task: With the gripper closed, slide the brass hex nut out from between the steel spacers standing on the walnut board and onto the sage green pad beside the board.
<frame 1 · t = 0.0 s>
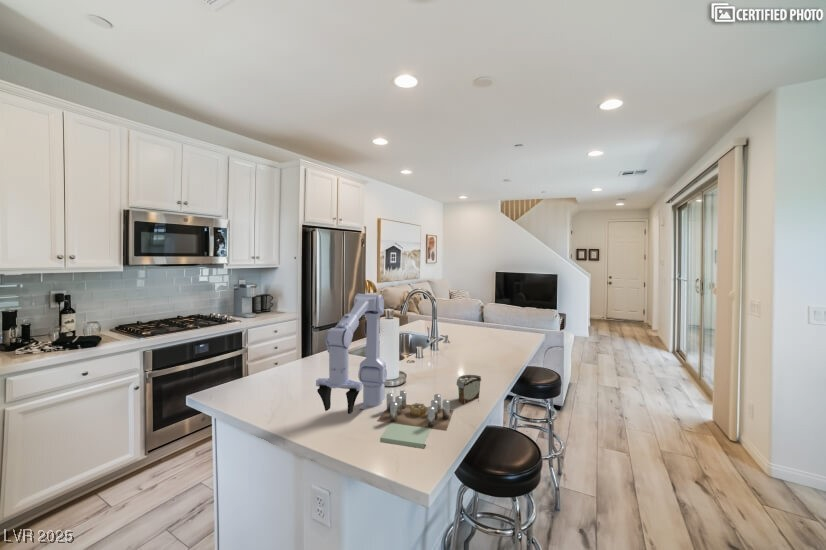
hand: (338, 411, 108), 10 cm above the countertop, tool pointing down, fingers open, 7 cm apart
nut: (417, 413, 126), point 1 cm above the countertop, touching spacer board
spacers: (416, 415, 124), resting on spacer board
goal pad: (406, 437, 112), on the countertop
food container: (465, 402, 140), on the countertop
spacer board: (416, 419, 124), on the countertop
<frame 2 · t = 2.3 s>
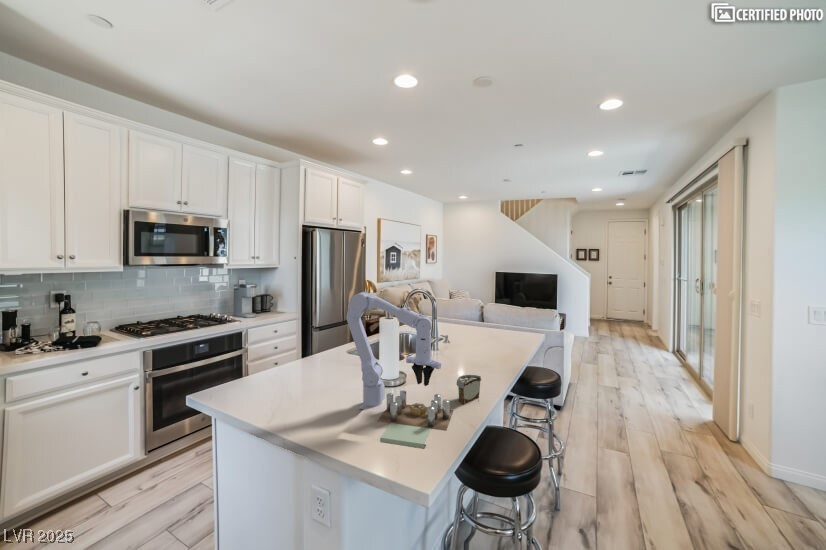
hand: (423, 384, 133), 9 cm above the countertop, tool pointing down, fingers closed
nothing on the countertop moved.
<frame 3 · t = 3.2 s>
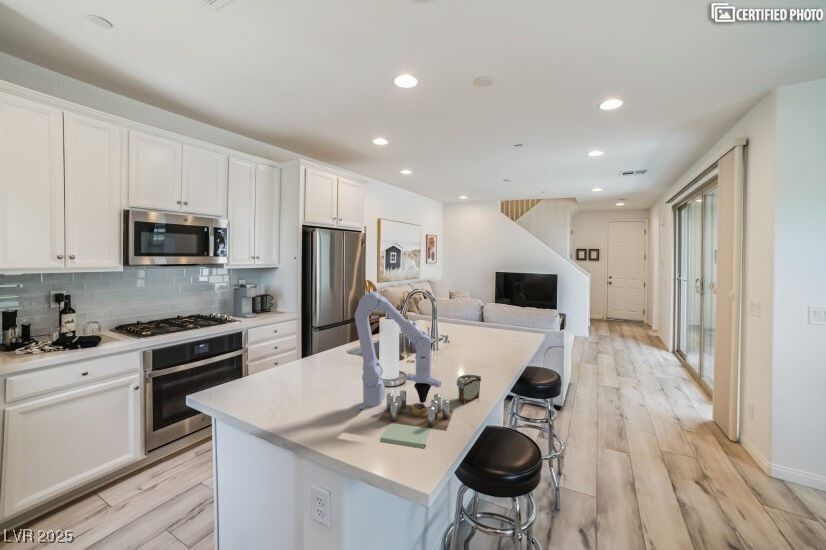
hand: (422, 401, 133), 3 cm above the countertop, tool pointing down, fingers closed
nothing on the countertop moved.
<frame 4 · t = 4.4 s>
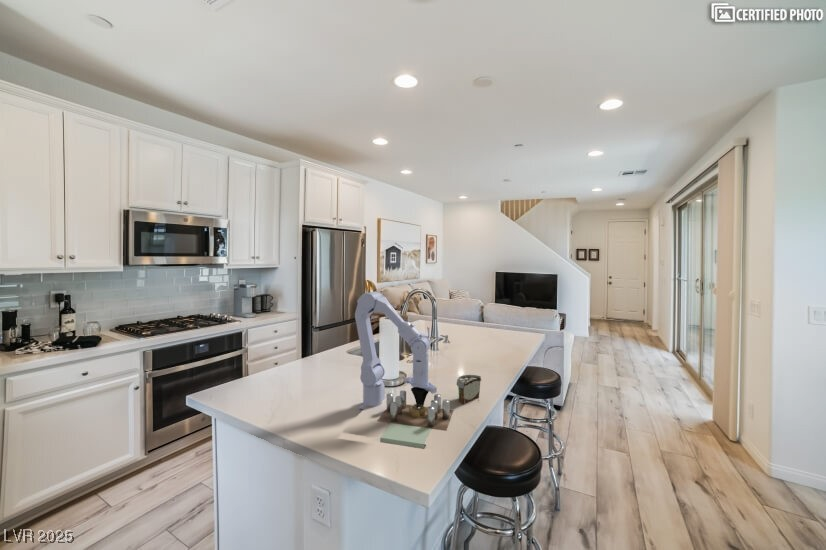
hand: (420, 406, 129), 2 cm above the countertop, tool pointing down, fingers closed
nothing on the countertop moved.
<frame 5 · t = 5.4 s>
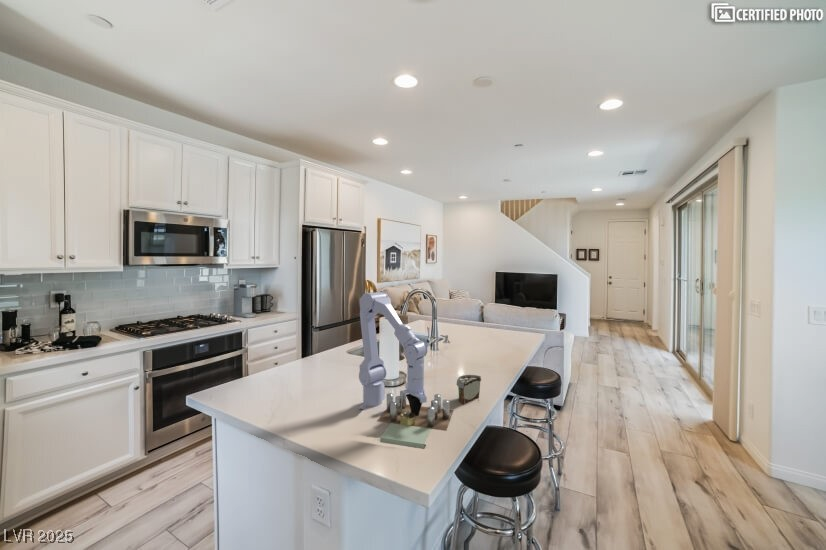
hand: (415, 415, 122), 2 cm above the countertop, tool pointing down, fingers closed
nut: (407, 422, 119), point 2 cm above the countertop, touching gripper
everything else where it was.
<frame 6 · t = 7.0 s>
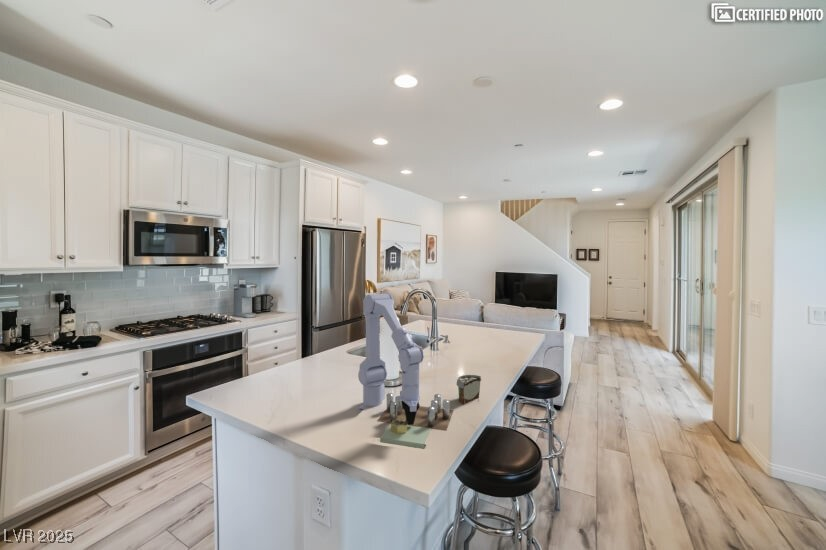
hand: (410, 423, 116), 2 cm above the countertop, tool pointing down, fingers closed
nut: (399, 429, 114), point 1 cm above the countertop, touching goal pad, gripper
everything else where it was.
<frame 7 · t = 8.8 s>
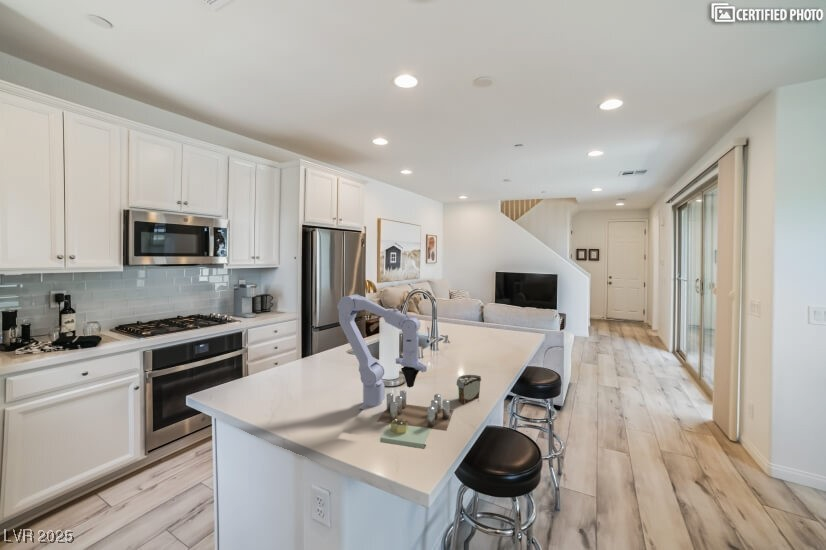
hand: (410, 386, 131), 9 cm above the countertop, tool pointing down, fingers closed
nut: (399, 429, 114), point 1 cm above the countertop, touching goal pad
everything else where it was.
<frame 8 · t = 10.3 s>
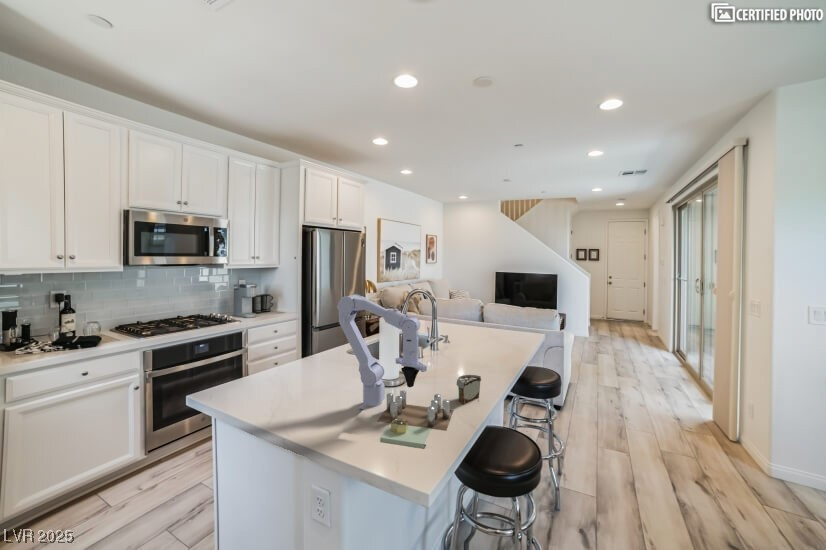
hand: (410, 386, 131), 9 cm above the countertop, tool pointing down, fingers closed
nothing on the countertop moved.
at the end: nut inside the target area on the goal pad (3.0 cm from its centre), point 1.5 cm above the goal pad's base; nut tilted 0°; nut moved 14.0 cm from its start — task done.
